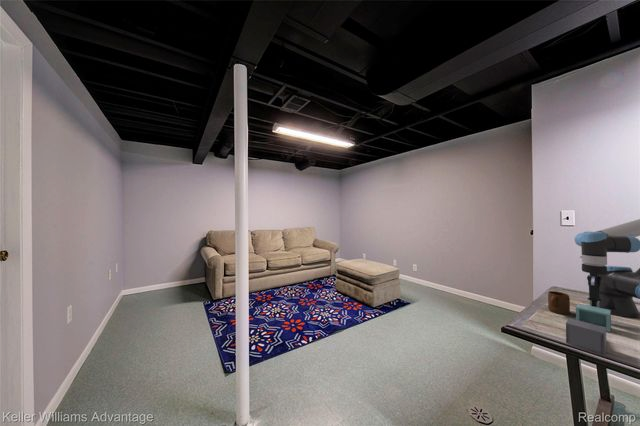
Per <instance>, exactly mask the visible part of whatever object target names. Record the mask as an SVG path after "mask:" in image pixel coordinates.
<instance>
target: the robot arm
mask: <svg viewBox="0 0 640 426" xmlns="http://www.w3.org/2000/svg"><path fill="white" fill-rule="evenodd" d="M637 237H640V218H639V219H635V220H632V221H629V222H625V223H621V224H617V225H614V226H611V227H608V228H607V227H606V228H604V229H601V230H598V231H597V230H596V231H583V232H579V233H578V234H576V235H575V236H574V242H575V244H576V245H577V246H579V247H581V255H579V258H580V259H581V271H582V272H584V273H588V274H589V275H587V276H586V280H587V285H588V293H589V294H588V296H589V297H587V300H588V301H589V306H593V307H598V308H603V309H607V310H611V315H612V316H613V315H614V316H618V317H619V316H620V317H624V316H627V317H626V318H638V316H639V317H640V311H639V310H638V307H637V305H636V303H635V301H634V299H633V298H635V299H637V300H640V267H639V268H637V270H636V271H634V270H633V269H632V268H631V267H630V266H620V265H619V266H617V265H608V253H626V254H630V253H637V252H639V251H640V239H639V238H637Z"/></svg>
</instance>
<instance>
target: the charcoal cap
mask: <svg viewBox="0 0 640 426" xmlns="http://www.w3.org/2000/svg"><path fill="white" fill-rule="evenodd" d="M565 342H566V343H567V344H569V345H572V346H575V347H578V348H582V349H585V350H588V351H591V352H594V353H597V354H601V355H604V356H606V352H607V348H608V347H607V346H608V345H607V331H606V327H605V326H601V325H597V324H593V323H589V322H585V321H579V320H576V318H575V319H574V318H570V317H569V318H567V320H566V322H565Z"/></svg>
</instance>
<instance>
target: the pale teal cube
mask: <svg viewBox="0 0 640 426" xmlns="http://www.w3.org/2000/svg"><path fill="white" fill-rule="evenodd" d="M575 320H579V321H583V322H587V323H591V324H595V325H599V326H602V327H606V333H607V332H608V333H611V329H612V314H611V310H607V309H603V308H598V307H593V306H590V304H589V305H587V304H582V303H577V304H576V306H575Z"/></svg>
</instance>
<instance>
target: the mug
mask: <svg viewBox="0 0 640 426" xmlns="http://www.w3.org/2000/svg"><path fill="white" fill-rule="evenodd" d="M547 292H548V293H547V303H548V304H547V305H548V310H549V311H550V312H552V313H554V314H558V315H565V316H567V315H568V316H569V315H570V313H571V311H570V310H571V309H570V308H571V299H570V295H569V294H568V293H565V292H561V291H552V290H550V291H547Z"/></svg>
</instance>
